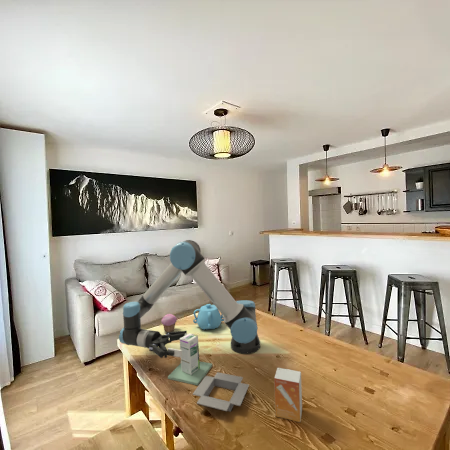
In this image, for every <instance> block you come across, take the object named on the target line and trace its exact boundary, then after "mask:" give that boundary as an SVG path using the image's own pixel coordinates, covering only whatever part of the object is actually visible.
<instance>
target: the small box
mask: <svg viewBox="0 0 450 450" xmlns="http://www.w3.org/2000/svg"><path fill="white" fill-rule="evenodd" d="M273 384H274V409H275V410H274V412H275V413H274V414H275V417H278V418H282V419H285V420H289V421H293V422H297V423H301V421H302V420H301V419H302V412H303V395H302V393H303V391H302V389H303V388H302V372H301V371H300V370H299V371H298V370H293V369H288V368H282V367H276V371H275V375H274V383H273Z"/></svg>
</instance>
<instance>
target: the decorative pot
mask: <svg viewBox="0 0 450 450" xmlns="http://www.w3.org/2000/svg"><path fill="white" fill-rule="evenodd" d="M197 312H198V313H197ZM196 313H197V316H196ZM193 316H194V319H193V324H197V326H198V327H199V328H200V329H201V330H202V329H203V331H206V330H216V329H215V328H217V329H218V328H219V327H220V325H221V324H222V322H224V316H223V315H222V314H221V312H220V311H219V310H218V309H217V308H216V306H215V305H214V304H211V303H207V304H205V305H202V306H200V308H197V309H195V310H194V311H193ZM205 329H206V330H205Z"/></svg>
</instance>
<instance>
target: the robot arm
mask: <svg viewBox="0 0 450 450" xmlns="http://www.w3.org/2000/svg"><path fill="white" fill-rule="evenodd" d="M201 252H202V251H201V247H200V245H199V244H198V243H197V242H196V241H194V240H192V239H186V240H184V241H179V242H177V243H176V244H175V245H174V246H172V248H171V250H170V252H169V262H170V263H169V264H168V265H167V267H165V268H164V270H163V271H162V272H161V274H159V276H157V278H156V279H155V281H154V282H153V283H152V284H151V285H150V286H149V288H147V290H146V291H145V293H143V294H142V295H141V297H140V298H139V299H138V300H137V301H130V302H126V303H125V304H124V305H123V306H122V307H123V308H122V315H123V316H122V317H123V327H122V328H121V330H120V331H119V335H118V340H119V342H120V343H121V344H124V345H127V346H135V347H142V348H144V349H145V348H147V349H149V352H152V353H153V354H155V355H156V356H157V357H159V358H160V359H163V358H165V359H167V358H168V356H170V357H175V358H180V359H181V358H182V357H183V356H182V350H180V348H179V349H178V348H171V347H168V348H167V347H166V345H167V344H169V343H172V342H174V341H180V338H182V337H183V336H185V335H187V334H188V331H187V330H181V331H180V330H179V331H178V330H177V331H171V332H165V334H161V332H160V331H158V330H152V329H150V330H149V329H144V328H142V326H141V325H142V324H141V323H142V322H141V321H142V318H143V317H144V316H145V315H146V314H147V313H148V312H149V311H150V310H151V309H152V308H153V306H154V305H156V303H157V301H158V300H159V299H160V298H161V297H162V296H163V295H164V294H165V292H167V290H168V289H169V288H170V286H171V285H172V284H173V283H174V282H175V280H176V279H177V278H178V277H179V276H180V275H181V274H182V273H183V274H184V275H185V276H187V277H191V279H192V280H193V281H194V283H196V285H197V286H198V287H199V288H200V289H201V291H202V292H203V293H204V294H205V295H206V297H207V298H208V299H209V301H210V302H211V303H212V305H215V306H216V308H217V309H218V310H219V312H220V315H221V314H222V315H223V317H224V318H223V319H224V321H223V323H224V324H225V325H226V326H227V328H228V329H229V330H230V331H229V332H230V335H231V339H230V349H231V350H232V351H233V352H235V353H238V354H242V355H247V354H253V353H256V352H258V351H259V350H261V340H260V337H259V335H258V327H259V326H258V321H257V316H256V315H257V314H256V303H255V302H254V301H253V300H247V299H245V300H235V298H234V297H233V296H232V295H231V293H230V292H229V291H228V290H227V288H226V287H225V286H224V285H223V283H221V281H220V280H219V279H218V278H217V277H216V275H215V274H214V273H213V272H212V270H211V269H210V267H209V266H207V265H206V258H205V257H204V256H203V255H202V253H201ZM196 335H197V336H198V334H196ZM198 337H199V336H198Z"/></svg>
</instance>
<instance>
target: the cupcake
mask: <svg viewBox="0 0 450 450" xmlns="http://www.w3.org/2000/svg"><path fill="white" fill-rule="evenodd" d="M177 321H178V319H177V317H176V315H174V314H172V313H167V314H165V315H164V316H163V317H162V318H161V321H160V322H161V324H162V325H163V331H164V332H165V333H166V332H175V327H176V323H177Z"/></svg>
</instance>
